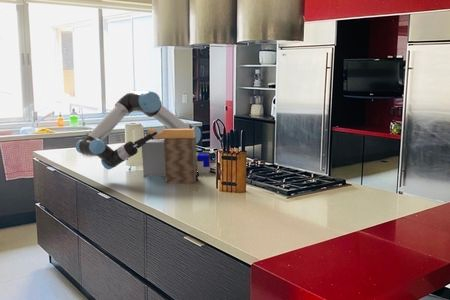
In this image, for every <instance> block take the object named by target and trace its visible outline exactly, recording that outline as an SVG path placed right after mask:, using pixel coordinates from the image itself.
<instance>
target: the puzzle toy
mask: <svg viewBox="0 0 450 300" xmlns="http://www.w3.org/2000/svg"><path fill="white" fill-rule="evenodd" d="M196 155H197V171H198V172H199V173H198V174H202V173H205V174H206V173H207V174H208V173H210V172H211V152H210V151H196Z"/></svg>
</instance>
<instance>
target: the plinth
mask: <svg viewBox="0 0 450 300" xmlns="http://www.w3.org/2000/svg"><path fill="white" fill-rule="evenodd" d="M141 157H142V171H143V173H142V174H143V177H150V176H151V177H166V169H165V151H164V139H153V140H152V139H150V140H149V141H147V142H146V143H145V144H144V145H142V146H141Z"/></svg>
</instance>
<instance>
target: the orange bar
mask: <svg viewBox="0 0 450 300" xmlns="http://www.w3.org/2000/svg"><path fill="white" fill-rule="evenodd" d="M157 129H158V128H149V129H148V130H147V135H149V134H151V133H152V132H154V131H155V130H157ZM194 137H195V131H194V129H163V132H162V133H160V134H159V135H157V136H155V137H154V138H153V140H164V139H173V138H194Z"/></svg>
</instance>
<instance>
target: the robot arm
mask: <svg viewBox="0 0 450 300" xmlns="http://www.w3.org/2000/svg"><path fill="white" fill-rule="evenodd" d="M133 112H141V113H143V114H144V115H145V116H146V117H149V118H152V117H153V118H154V119H155V120H157V121H158V122H159V123H161V124H162V126H160V127H158V128H156V129H157V130H155V131H154V132H152V133H151V134H149V135H148V134H147V135H146V136H144V137H141V138H139V139H138V140H136V141H131V140H130V141H127V142H126V143H125V144H122V145H121V146H120V147H117V148H116V149H114V150H113V148H111V147H110V146H109V145H107V144H106V143H105V142H104V139H106V138H107V136H108V135H109V134H110V133H111V132H112V130H114V129H115V128H116V126H118V125H119V123H120V122H121V121H122V120H123V119H124V118H125V117H128V116H129V115H130V114H131V113H133ZM163 129H194V131H195V137H196V145H197V144H198V143H199V142H200V141H201V140H200V139H201V136H202V133H201V129H200V127H198V126H195V125H192V124H190V123H189V122H188V121H184V120H181V119H180V118H178V116H176V115H175V114H174V113H172V112H171V111H170V110H168V109H167V108H166V107H165V106H164V105H162V100H161V97H160V96H159V94H157V92H154V91H150V90H141V91H140V90H132V91H130V92H127V93H126V94H125V95H123V96H122V97H120V99H118V101H116V103H114V107H113V108H112V110H111V111H110V112H109V113H108V114H107V115H106V116H105V117H104V118H103V119H102V120H101V121H100V122H99V123H98V124H97V125H96V127H94V128H93V130H92V131H91V132H90V133H89V135H88V136H87V135H86V137H85V139H84V138H83V139H79V140H78V141H77V142H76V144H75V149H76V152H77V153H79V154H81V155H88V156H94V157H97V158H99V159H100V160H101V164H102V166H103V168H104V169H106V170H109V171H110V170H112V169H114V168H116V167H117V166H119V165H120V164H121V163H123V162H125V161H129V158H131V157H133V156H135V155H136V154H138V152H139V150H138V149H139V148H140V149H141V148H142V145H144V144H145V143H146V142H147V141H149V140H154V139H153V138H154V137H155V136H157V135H159V134H160V133H162V132H163Z"/></svg>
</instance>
